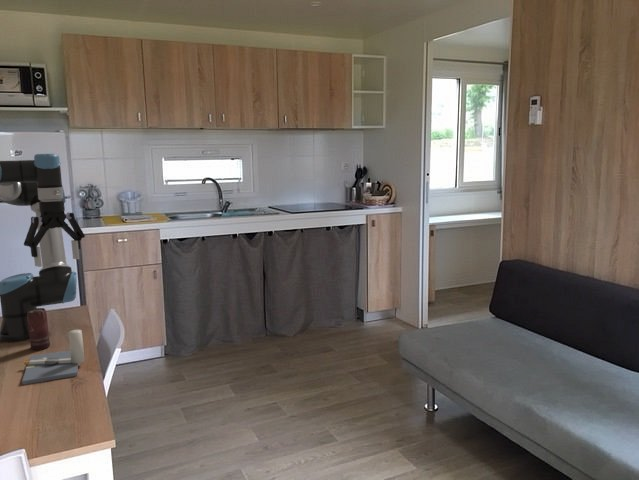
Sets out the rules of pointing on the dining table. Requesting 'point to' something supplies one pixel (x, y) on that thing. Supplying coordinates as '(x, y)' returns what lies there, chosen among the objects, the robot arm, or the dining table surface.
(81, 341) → the needle
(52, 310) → the dining table surface
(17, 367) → the dining table surface
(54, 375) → the dial plate
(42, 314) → the can
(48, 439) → the dining table surface
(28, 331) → the robot arm
